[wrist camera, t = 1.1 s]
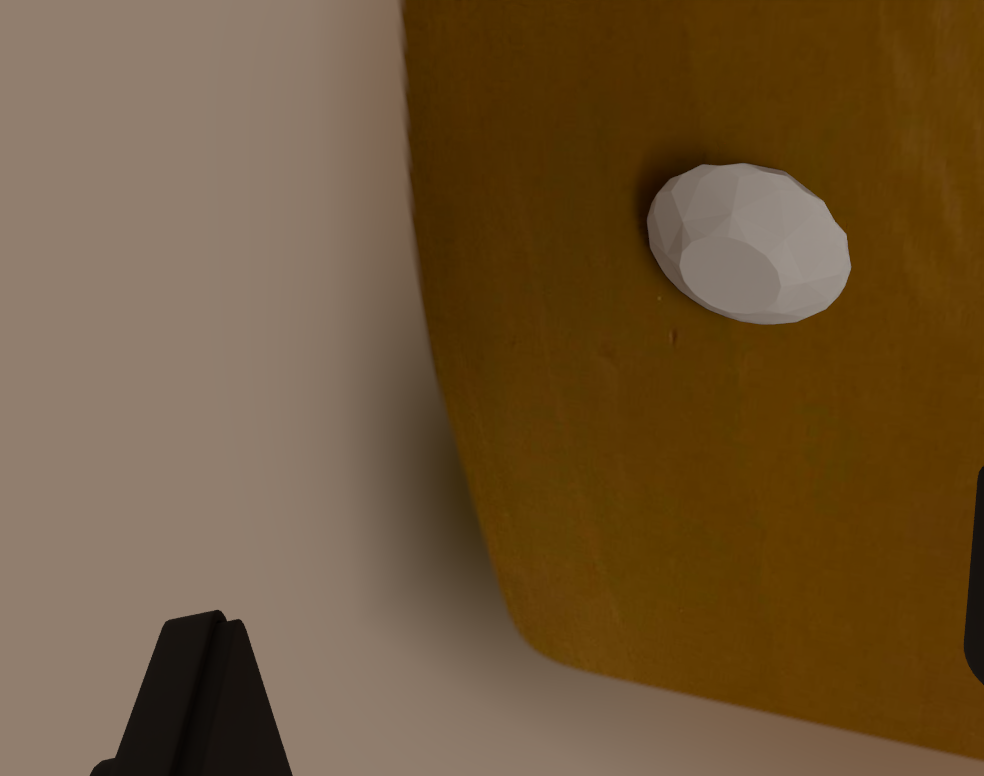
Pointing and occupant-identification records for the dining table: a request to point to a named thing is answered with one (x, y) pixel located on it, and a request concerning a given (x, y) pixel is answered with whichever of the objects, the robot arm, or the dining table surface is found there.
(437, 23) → the dining table surface
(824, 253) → the gemstone
